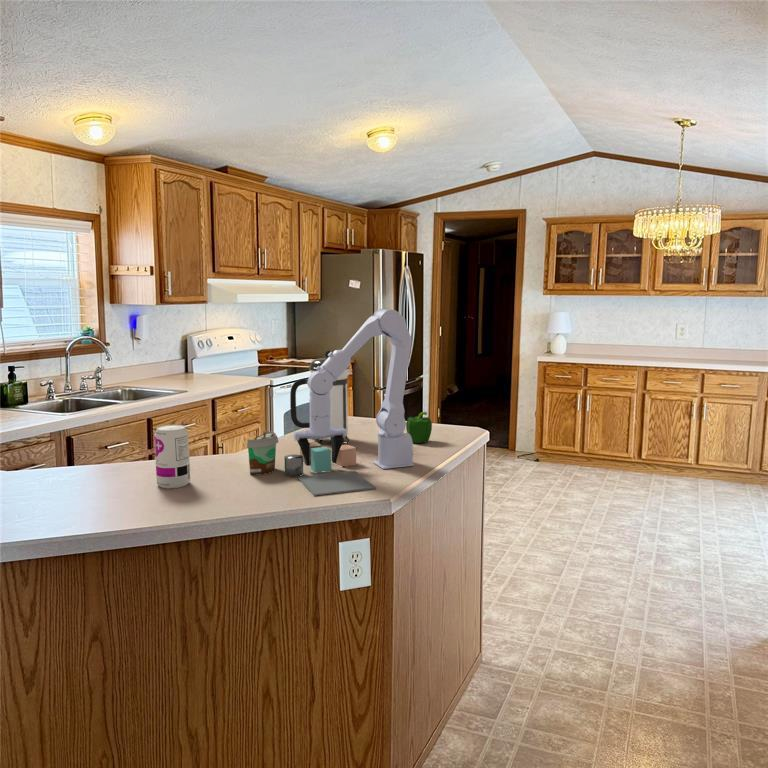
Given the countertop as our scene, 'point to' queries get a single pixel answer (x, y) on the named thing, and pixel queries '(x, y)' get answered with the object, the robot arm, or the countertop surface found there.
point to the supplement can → (172, 456)
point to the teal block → (320, 459)
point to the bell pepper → (419, 428)
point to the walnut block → (312, 445)
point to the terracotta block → (346, 455)
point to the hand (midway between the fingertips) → (320, 463)
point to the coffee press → (336, 400)
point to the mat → (336, 483)
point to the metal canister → (293, 465)
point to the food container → (262, 453)
